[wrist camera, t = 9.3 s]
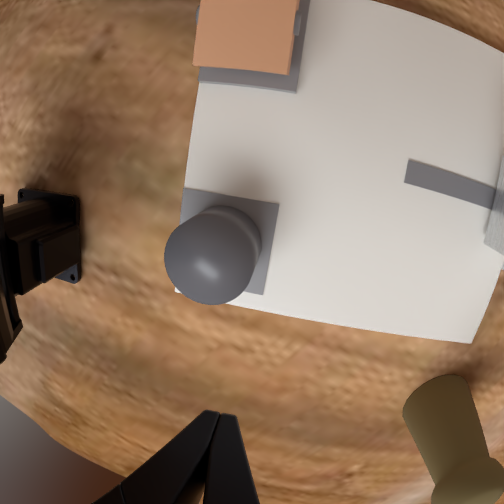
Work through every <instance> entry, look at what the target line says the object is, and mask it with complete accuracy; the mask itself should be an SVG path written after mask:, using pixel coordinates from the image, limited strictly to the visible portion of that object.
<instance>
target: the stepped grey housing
mask: <svg viewBox="0 0 504 504" xmlns="http://www.w3.org/2000/svg"><path fill="white" fill-rule="evenodd" d="M483 243H484V244H486V245H487V246H489V247H490V248H492V249H494V250H495V251H497V252H499V253H500V254H502V255H503V256H504V156H502V161H501V167H500V173H499V179H498V184H497V189H496V194H495V199H494V203H493V207H492V212H491V216H490V220H489V224H488V228H487V231H486V235H485V239H484V242H483ZM501 269H503V270H504V262H503V265H502V268H501Z"/></svg>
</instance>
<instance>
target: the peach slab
mask: <svg viewBox="0 0 504 504" xmlns="http://www.w3.org/2000/svg"><path fill="white" fill-rule="evenodd" d="M299 2H300V0H201V3H200V5H199V6H198V8H197V12H196V24H197V31H196V39H195V47H194V56H193V66H201V67H216V68H230V69H241V70H251V71H260V72H268V73H276V74H283V75H289V72H290V65H291V58H292V51H293V44H294V37H295V35H299V31H300V25H301V16H302V11H298V9H299Z"/></svg>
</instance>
